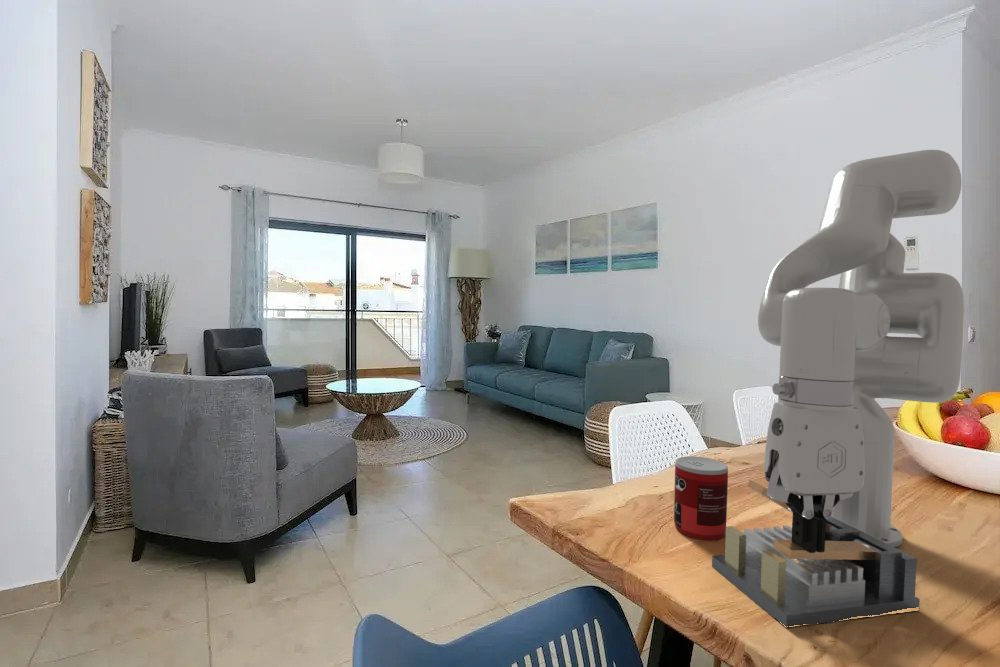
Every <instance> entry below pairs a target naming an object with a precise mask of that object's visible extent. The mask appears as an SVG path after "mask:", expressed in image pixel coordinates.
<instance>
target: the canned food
mask: <svg viewBox="0 0 1000 667" xmlns="http://www.w3.org/2000/svg"><path fill="white" fill-rule="evenodd" d="M674 466H675V467H674V499H673V500H674V504H673V505H674V506H673V523H674V525H675V526H674V528H676V530H677V531H678V532H679V533H681V534H682V535H684V536H686V537H689V538H692V539H697V540H701V541H702V540H703V541H715V540H720V539H722V538H723V537H724V536H725V535H726V527H727V513H728V512H727V511H728V485H729V483H728V482H729V476H728V475H729V468H728V465H727V464H726V463H724V462H723V461H720V460H718V459H714V458H710V457H705V456H692V455H691V456H689V455H688V456H681V457H678V458H676V459H675V464H674Z"/></svg>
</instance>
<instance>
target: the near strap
mask: <svg viewBox="0 0 1000 667" xmlns="http://www.w3.org/2000/svg"><path fill="white" fill-rule="evenodd" d="M773 548H775V549H776V550H778V551H779V552H781V553H782V554H784V555H785V556H787V557H788V558H790V559H844V560H876V552H882V551H880V550H878V549H876V548H874V547H873V546H871V545H869V544H867V543H865V542H863V541H861V540H859V539H855V540H854V541H825V551H824V552H817V551H816V552H815V553H809V552H807V551H806V550H805V549H803V548H802V547H800V546H798V545H797V544H795V543H793V542H792V540H776V539H774V544H773Z"/></svg>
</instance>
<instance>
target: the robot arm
mask: <svg viewBox="0 0 1000 667" xmlns="http://www.w3.org/2000/svg"><path fill="white" fill-rule="evenodd" d="M961 190H962V174H961V170H960V167H959V165H958V163H957V162H956V160H955V158H954V157H953V156H952V155H951V154H950V153H949V152H946V151H944V150H939V149H925V150H924V149H923V150H916V151H910V152H903V153H898V154H892V155H885V156H878V157H877V156H876V157H870V158H866V159H861V160H857V161H854V162H851V163H849V164H847V165H845V166H843V167H842V168H841V169H839V171H838V172H837V173H836V174H835V175H834V177H833V179H832V180H831V183H830V186H829V189H828V194H827V198H826V201H825V204H824V208H823V212H822V217H821V220H820V223H819V227H818V232H817V233H815V234H813V235H811V236H810V237H808V238H807V239H806V240H805V239H804V241H803V242H801V243H799V245H797V246H796V247H794V248H793V249H792V250H791V251H789V252H788V253H787V254H786V255H784V257H783V258H781V259H780V260H779V261H778V262H777V263H776V264H775V266H773V269H772V270H771V271H770V274H769V276H768V279H767V282H766V285H765V288H764V291H763V294H762V296H761V301H760V304H759V310H758V316H757V325H758V331H759V334H760V335H761V337H762V338H763V340H765V341H766V342H767V343H768V344H771V345H773V346H777V347H780V350H779V351H780V352H779V353H780V356H779V377H778V382H777V383H774V384H773V385H772V393H773V394H774V395H776V396H778V398H777V399H778V400H777V402H774V404H773V407H772V410H771V414H770V418H769V422H768V428H767V435H766V441H765V451H764V466H763V467H764V469H763V470H764V477H765V480H766V481H767V483H768V485H767V487H766V488H767V493H766V494H767V496H768V497H770V498H772V499H775V500H777V501H781V502H785V504H786V505H787V507H788V509H789V510H790V511H792V512H793V513H792V521H791V522H792V523H791V528H792V542H793V543H795V544H797V545H798V546H800V547H802V548H803V549H805V550H806V551H807V552H809V553H815V552H816V551H817V552H824V551H825V534H826V518H830V517H833V518H835V519H837V520H839V521H841V522H843V523H845V524H847V525H849V526H851V527H854V528H856V529H858V530H860V531H862V532H864V533H866V534H868V535H870V536H872V537H874V538H876V539H878V540H880V541H882V542H884V543H886V544H888V545H890V546H893V547H895V548H897V547H899V546H901V545H902V543H903V537H904V535H903V534H902V532H901V531H900V530H899V529H898V528H897V527H895V526H894V525H892V524H891V522H892V521H891V518H892V498H893V497H892V495H893V494H892V493H893V477H894V475H893V473H894V472H893V471H894V456H895V455H894V450H895V428H894V427H895V426H894V424H893V421H892V420H891V417H890V416H889V415H888V413H887V412H886V411H885V410H884V409H883V408H882V406H881V405H880V404H879V403H878V402H877V400H876V399H892V400H900V401H907V402H908V401H910V402H918V403H919V402H921V403H930V404H931V403H936V404H937V403H938V404H940V403H944V402H947V401H950V400H951V399H953V398H954V397H955V395H956V394H957V392H958V389H959V386H960V381H961V371H962V370H961V369H962V354H963V351H962V350H963V335H964V317H965V300H964V293H963V289H962V286H961V283H960V282H959V280H958V279H957V278H956V277H954V276H952V275H950V274H947V273H943V272H904V270H905V261H906V249H905V247H904V246H903V244H902V243H901V242H900V241H899V240H898V239H897V238H896V236H894V235H893V234H892V233H891V229H892V228H891V227H892V222H893V219H901V218H912V217H913V218H914V217H925V216H937V215H942V214H946V213H948V212H950V211H951V210H953V208H954V207H955V206H956V204H957V202H958V201H959V198H960V195H961ZM837 275H840V277H839V284H838V285H839V286H838V287H809V286H810V285H812V284H814V283H816V282H819V281H822V280H825V279H828V278H830V277H834V276H837ZM888 334H905V335H907V334H908V335H909V334H910V335H917V336H919V337H914V336H889V335H888ZM790 511H789V512H790Z"/></svg>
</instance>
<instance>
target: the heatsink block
mask: <svg viewBox="0 0 1000 667" xmlns="http://www.w3.org/2000/svg"><path fill="white" fill-rule="evenodd" d="M826 523H827V524H829V525H831V526H833V527H835V528H837V529H833V530H832V536H831V535H829V534H827V533H826V534H825V541H854V540H855V539H859V540H861V541H863V542H865V543H867V544H869V545H871V546H873V547H874V548H876V549H878V550H880V551H882V552H876V560H844V559H790V558H788V557H787V556H785V555H784V554H782V553H781V552H779V551H778V550H776V549H775V548H773V544H774V539H776V540H792V526H789V525H783V528H782V527H780V526H778V525H777V526H773V529H772V528H771V527H769V526H767V527H766V526H764V527H763V530H762V529H761V528H760V527H754V528H753V530H751V529H749V528H745V529H743V532H742V531H741V530H739V529H738V528H736V527H735V526H734V525H729V526H727V525H726V532H725V541H724V542H725V545H724V547H725V549H724V554H718V555H717V554H715V555H712V556H711V558H712V559H711V567H712V568H713V569H715V570H716V571H717V572H718V573H719V574H720V575H722V576H723V577H724V578H726V580H728V581H729V582H730V583H731V584H732V585H733V586H735V587H736V588H738V590H740V591H741V593H743V594H744V595H746V596H747V597H748V598H749V599H750V600H752V602H754V603H755V604H756V603H757V604H756V605H757V606H759V607H760V608H761V607H762V608H763V611H764V612H766V613H767V614H768V613H769V614H768V615H769V616H771V617H772V616H773V617H774V618H776V619H777V620H778V621H779V622H781V623H782V624H784V625H785V626H786V627H787V626H788V627H789V626H794V625H803V624H816V625H818V624H817V623H824V622H832V623H834V622H833V621H839V620H843V619H847V618H848V619H849V618H851V617H857V616H868V615H869V616H870V615H871V616H872V615H880V614H883V613H888V612H892V611H897V610H902V609H907V608H916V607H919V608H920V600H921V599H920V598H919V597H917V596H916V587H917V586H916V585H917V583H916V582H917V580H916V579H917V564H918V563H917V562H918V559H917V557H915V556H913V555H911V554H908V553H907V552H906V551H905V552H904V551H902V550H901V549H898V548H897V547H893V546H890V545H888V544H886V543H884V542H882V541H880V540H878V539H876V538H874V537H872V536H870V535H868V534H866V533H864V532H862V531H860V530H858V529H856V528H854V527H851V526H849V525H847V524H845V523H843V522H841V521H839V520H837V519H835V518H833V517H830V518H826ZM762 608H761V609H762ZM773 617H772V618H773ZM776 619H775V620H776ZM777 620H776V621H777ZM778 621H777V622H778ZM779 622H778V623H779ZM782 624H781V625H782ZM824 624H825V623H824Z"/></svg>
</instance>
